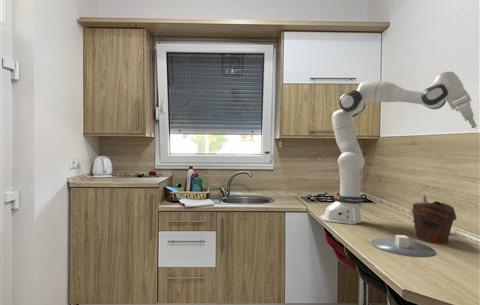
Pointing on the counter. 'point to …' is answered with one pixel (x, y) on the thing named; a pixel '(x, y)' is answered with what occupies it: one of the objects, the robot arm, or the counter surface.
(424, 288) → the counter surface
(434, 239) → the brown tapered pot
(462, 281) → the counter surface
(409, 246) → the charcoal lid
